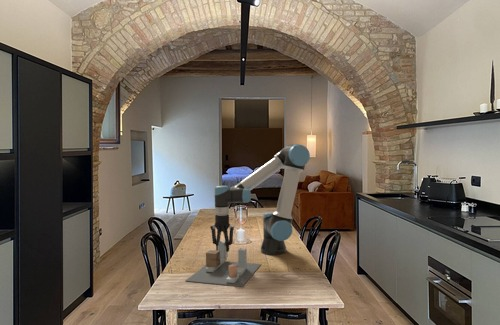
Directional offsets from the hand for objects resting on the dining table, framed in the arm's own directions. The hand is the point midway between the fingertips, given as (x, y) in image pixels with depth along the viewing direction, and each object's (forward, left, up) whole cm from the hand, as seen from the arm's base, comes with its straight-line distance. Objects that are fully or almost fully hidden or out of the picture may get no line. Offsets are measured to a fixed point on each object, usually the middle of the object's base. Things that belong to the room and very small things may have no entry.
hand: (222, 257), depth 203 cm
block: (+14, 0, 0) cm, 14 cm away
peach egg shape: (+26, +15, 0) cm, 30 cm away
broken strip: (+20, +15, -3) cm, 25 cm away
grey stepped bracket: (+9, 0, -3) cm, 9 cm away
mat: (+16, +8, -3) cm, 18 cm away
